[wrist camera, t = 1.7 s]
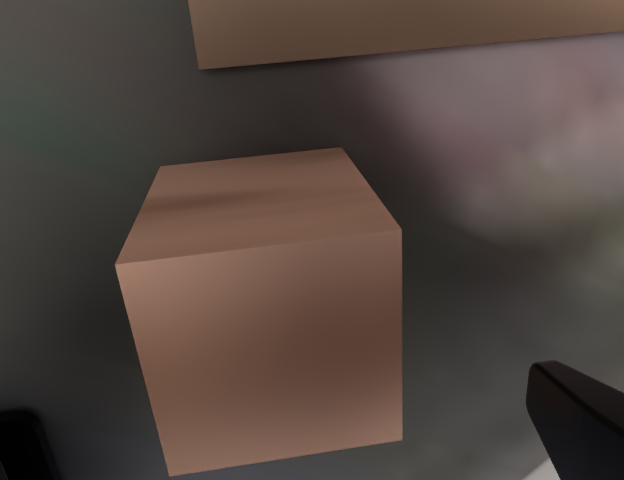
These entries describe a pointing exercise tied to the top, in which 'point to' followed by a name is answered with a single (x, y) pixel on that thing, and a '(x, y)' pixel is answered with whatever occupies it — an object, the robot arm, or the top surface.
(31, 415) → the robot arm
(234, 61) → the tan square base
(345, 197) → the top block
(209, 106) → the top surface
